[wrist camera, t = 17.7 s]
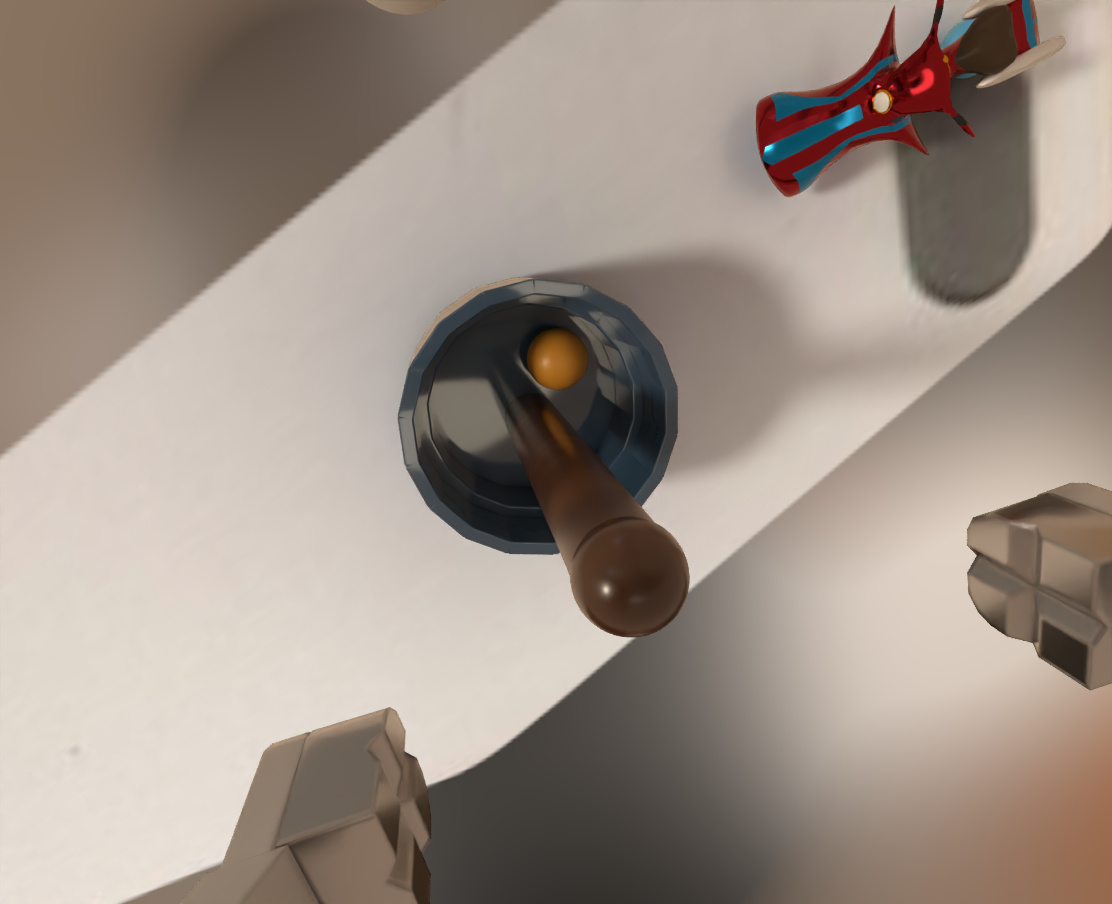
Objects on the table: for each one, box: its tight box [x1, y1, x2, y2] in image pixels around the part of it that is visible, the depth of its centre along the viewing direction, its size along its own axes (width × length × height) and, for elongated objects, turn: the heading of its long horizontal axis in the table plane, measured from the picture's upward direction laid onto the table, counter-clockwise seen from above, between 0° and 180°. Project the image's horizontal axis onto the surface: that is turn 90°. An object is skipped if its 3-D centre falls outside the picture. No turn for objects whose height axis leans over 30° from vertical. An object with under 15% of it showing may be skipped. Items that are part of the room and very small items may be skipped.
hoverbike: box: [756, 0, 1066, 197], centre depth 22 cm, size 5×12×6 cm, turn 116°
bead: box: [527, 328, 588, 390], centre depth 24 cm, size 2×2×2 cm
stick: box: [506, 393, 689, 637], centre depth 18 cm, size 2×2×15 cm
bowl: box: [398, 277, 678, 555], centre depth 23 cm, size 10×10×6 cm
